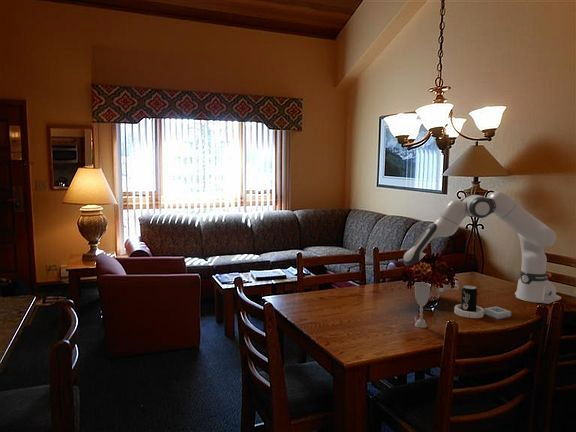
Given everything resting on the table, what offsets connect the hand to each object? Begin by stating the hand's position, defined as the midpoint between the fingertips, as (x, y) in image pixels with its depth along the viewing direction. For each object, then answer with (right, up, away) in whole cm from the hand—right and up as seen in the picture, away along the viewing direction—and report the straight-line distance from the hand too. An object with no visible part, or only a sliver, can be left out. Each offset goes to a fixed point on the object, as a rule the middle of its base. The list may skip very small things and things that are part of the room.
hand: (450, 289), depth 214 cm
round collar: (+5, -10, -9) cm, 14 cm away
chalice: (-22, -11, -25) cm, 35 cm away
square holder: (+17, -10, -12) cm, 23 cm away
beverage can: (+5, -9, -9) cm, 14 cm away
